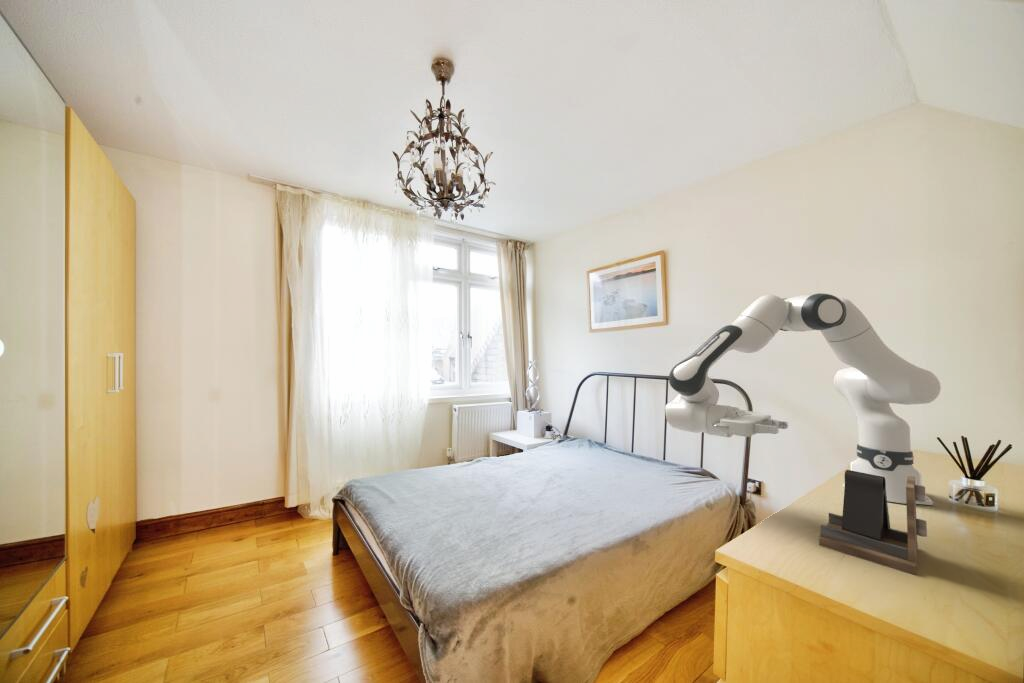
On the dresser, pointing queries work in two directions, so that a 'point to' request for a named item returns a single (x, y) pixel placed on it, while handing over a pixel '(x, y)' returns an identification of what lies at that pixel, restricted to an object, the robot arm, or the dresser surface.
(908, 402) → the robot arm
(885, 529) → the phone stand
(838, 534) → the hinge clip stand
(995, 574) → the dresser surface
